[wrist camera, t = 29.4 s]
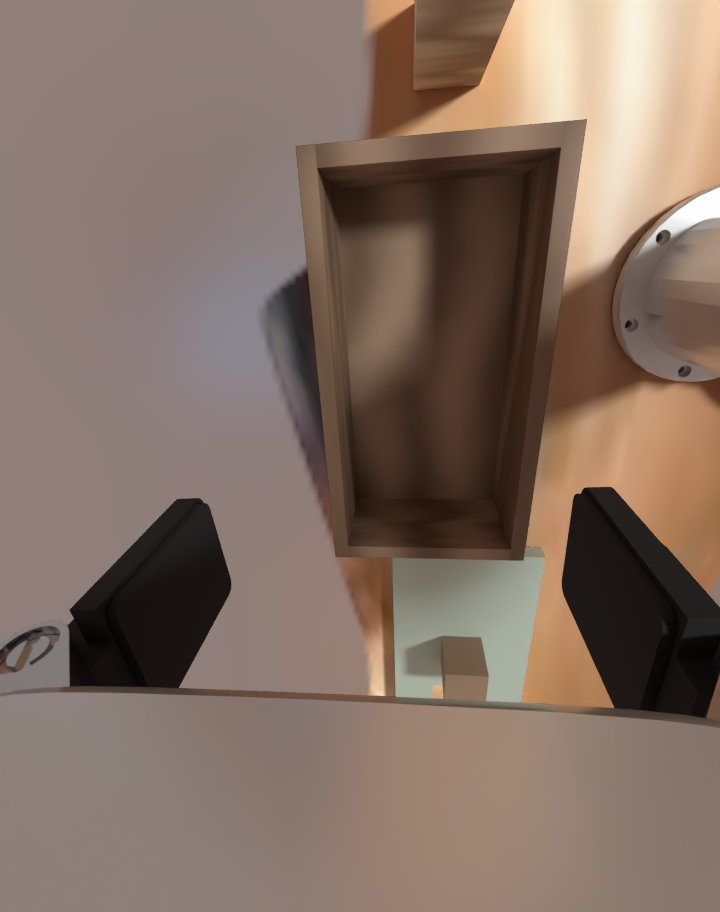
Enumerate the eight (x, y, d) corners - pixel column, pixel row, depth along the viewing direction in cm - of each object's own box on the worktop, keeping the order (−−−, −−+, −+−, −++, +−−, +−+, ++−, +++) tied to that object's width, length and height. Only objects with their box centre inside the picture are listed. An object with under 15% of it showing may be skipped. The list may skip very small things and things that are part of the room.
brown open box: (538, 157, 27) (586, 119, 19) (501, 503, 38) (523, 560, 30) (323, 175, 28) (295, 145, 21) (348, 502, 39) (335, 556, 32)
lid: (540, 547, 39) (562, 593, 34) (512, 720, 50) (524, 776, 45) (392, 544, 41) (390, 587, 35) (396, 713, 52) (395, 765, 46)
